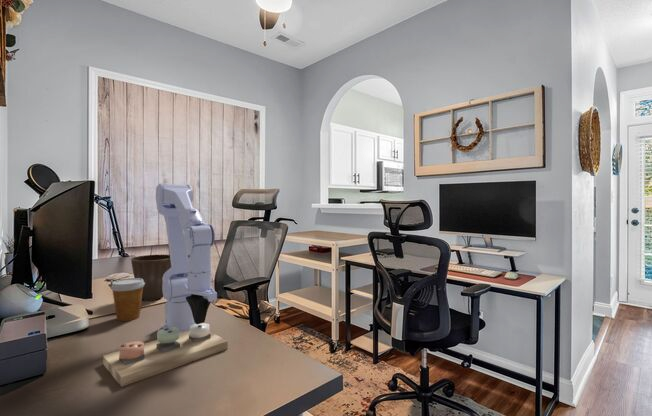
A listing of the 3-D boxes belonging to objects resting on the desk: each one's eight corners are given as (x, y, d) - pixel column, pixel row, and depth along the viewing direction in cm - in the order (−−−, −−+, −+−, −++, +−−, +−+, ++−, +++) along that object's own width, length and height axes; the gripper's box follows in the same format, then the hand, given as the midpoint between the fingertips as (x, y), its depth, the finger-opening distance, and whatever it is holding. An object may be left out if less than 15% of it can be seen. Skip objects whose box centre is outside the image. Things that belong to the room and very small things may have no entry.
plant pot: (168, 290, 140) (168, 253, 140) (179, 298, 129) (178, 257, 129) (128, 297, 131) (127, 256, 131) (135, 306, 119) (135, 262, 119)
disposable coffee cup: (138, 311, 114) (137, 276, 114) (150, 317, 108) (149, 280, 108) (106, 318, 107) (106, 281, 107) (117, 325, 101) (117, 286, 101)
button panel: (102, 364, 77) (102, 351, 77) (201, 333, 94) (201, 323, 94) (121, 387, 67) (121, 372, 67) (227, 348, 85) (227, 337, 85)
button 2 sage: (154, 339, 81) (154, 330, 81) (174, 333, 84) (174, 325, 84) (161, 344, 77) (161, 335, 77) (182, 338, 81) (182, 330, 81)
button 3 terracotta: (116, 354, 75) (116, 345, 75) (139, 347, 78) (139, 338, 78) (123, 361, 71) (123, 351, 71) (147, 354, 75) (147, 344, 75)
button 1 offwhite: (186, 334, 86) (186, 326, 86) (204, 329, 90) (204, 321, 90) (195, 339, 83) (195, 330, 83) (212, 333, 87) (212, 325, 87)
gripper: (172, 269, 88) (172, 319, 89) (197, 278, 78) (197, 335, 79) (197, 265, 93) (197, 313, 94) (224, 273, 84) (224, 326, 84)
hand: (199, 322), depth 87 cm, fingers closed
